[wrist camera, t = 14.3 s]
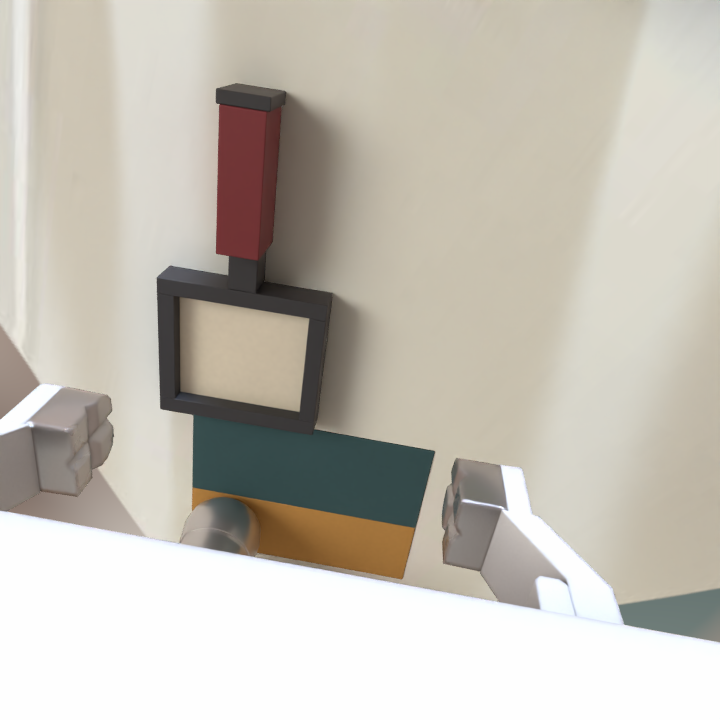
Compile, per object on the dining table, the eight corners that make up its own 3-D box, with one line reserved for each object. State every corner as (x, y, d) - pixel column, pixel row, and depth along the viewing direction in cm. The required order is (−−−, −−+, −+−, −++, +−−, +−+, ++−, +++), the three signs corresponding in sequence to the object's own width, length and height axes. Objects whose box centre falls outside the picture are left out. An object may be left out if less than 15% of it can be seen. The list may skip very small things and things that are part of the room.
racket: (166, 71, 38) (139, 76, 34) (356, 102, 38) (348, 109, 34) (171, 393, 49) (151, 420, 46) (317, 418, 49) (308, 447, 46)
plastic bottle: (207, 475, 53) (97, 694, 36) (278, 506, 54) (205, 735, 36) (185, 523, 56) (73, 747, 39) (252, 552, 57) (173, 783, 39)
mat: (434, 448, 50) (434, 451, 49) (402, 575, 57) (402, 579, 57) (195, 405, 50) (193, 408, 50) (193, 536, 57) (191, 540, 57)
